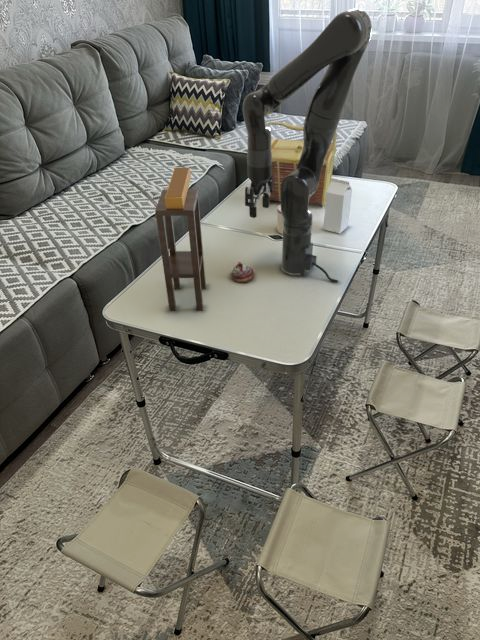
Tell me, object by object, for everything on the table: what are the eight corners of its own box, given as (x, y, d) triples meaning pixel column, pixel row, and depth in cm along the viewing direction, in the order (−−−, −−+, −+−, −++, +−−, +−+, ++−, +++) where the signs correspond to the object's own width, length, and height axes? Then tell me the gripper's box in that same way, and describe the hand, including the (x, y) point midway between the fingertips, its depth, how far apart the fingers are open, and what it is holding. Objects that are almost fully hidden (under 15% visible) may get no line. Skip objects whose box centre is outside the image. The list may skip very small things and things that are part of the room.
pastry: (227, 273, 170) (227, 260, 167) (248, 268, 172) (248, 255, 169) (236, 285, 164) (236, 271, 161) (258, 280, 167) (258, 266, 164)
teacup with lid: (294, 238, 190) (295, 208, 182) (272, 232, 193) (272, 203, 186) (307, 225, 198) (309, 196, 190) (286, 220, 201) (287, 192, 194)
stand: (175, 286, 164) (162, 189, 144) (206, 285, 164) (197, 189, 144) (169, 310, 153) (155, 210, 133) (202, 310, 153) (193, 210, 133)
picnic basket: (335, 188, 226) (341, 116, 207) (327, 212, 207) (333, 135, 188) (271, 182, 231) (271, 112, 212) (257, 206, 212) (257, 130, 193)
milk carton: (340, 234, 192) (345, 184, 180) (323, 229, 195) (327, 181, 183) (347, 226, 197) (353, 178, 185) (331, 222, 200) (335, 174, 188)
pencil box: (175, 177, 151) (174, 167, 149) (191, 177, 151) (190, 167, 149) (166, 208, 134) (164, 197, 132) (183, 208, 134) (182, 197, 132)
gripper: (258, 171, 150) (258, 223, 160) (281, 157, 159) (279, 206, 170) (236, 167, 152) (238, 218, 163) (260, 153, 162) (260, 202, 172)
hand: (259, 212), depth 166 cm, fingers open, 8 cm apart
